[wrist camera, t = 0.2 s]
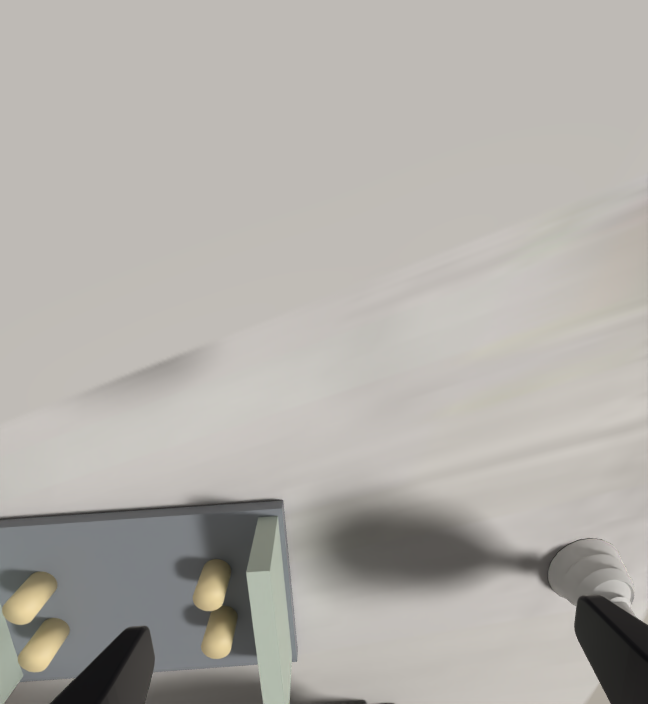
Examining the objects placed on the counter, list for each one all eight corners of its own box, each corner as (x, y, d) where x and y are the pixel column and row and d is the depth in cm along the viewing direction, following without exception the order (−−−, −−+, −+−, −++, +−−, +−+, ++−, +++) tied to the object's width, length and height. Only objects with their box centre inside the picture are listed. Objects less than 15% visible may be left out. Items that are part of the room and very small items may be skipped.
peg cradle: (297, 649, 26) (293, 737, 21) (12, 670, 26) (-58, 764, 21) (283, 500, 23) (275, 562, 19) (-37, 522, 23) (-130, 590, 18)
